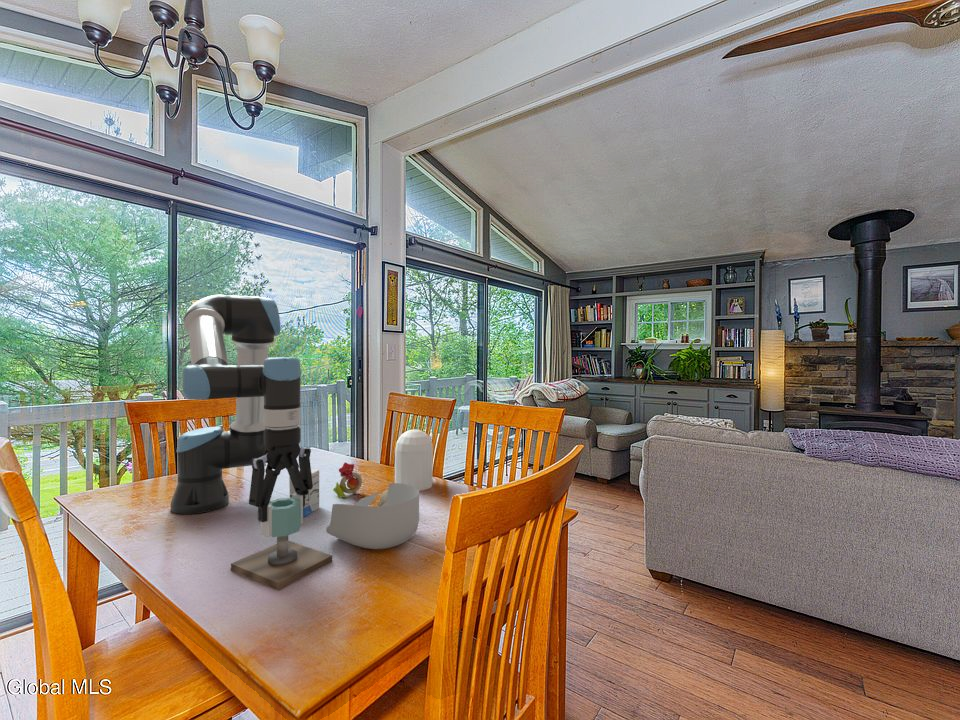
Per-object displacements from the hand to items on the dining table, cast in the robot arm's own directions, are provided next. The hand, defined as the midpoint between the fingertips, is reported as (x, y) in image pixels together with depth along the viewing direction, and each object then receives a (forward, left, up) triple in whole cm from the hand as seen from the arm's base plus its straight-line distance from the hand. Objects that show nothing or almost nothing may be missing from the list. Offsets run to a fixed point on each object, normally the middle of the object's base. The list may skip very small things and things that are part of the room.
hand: (282, 528), depth 101 cm
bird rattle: (-23, +42, -9) cm, 49 cm away
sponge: (0, +38, -9) cm, 39 cm away
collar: (0, 0, 0) cm, 0 cm away
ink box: (-23, +25, -9) cm, 35 cm away
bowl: (+9, +22, -9) cm, 25 cm away
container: (-11, +62, -9) cm, 64 cm away
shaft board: (0, 0, -8) cm, 8 cm away
